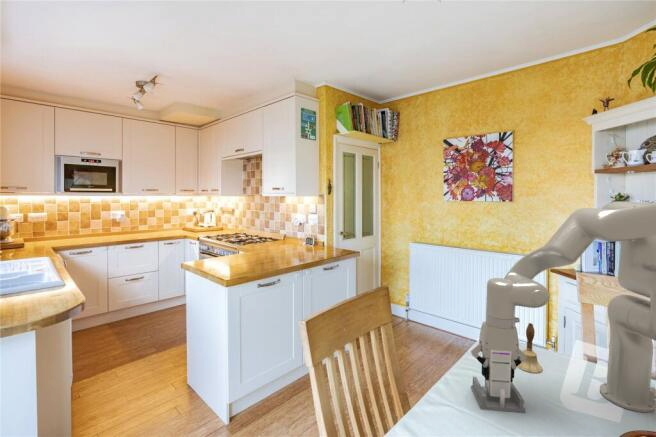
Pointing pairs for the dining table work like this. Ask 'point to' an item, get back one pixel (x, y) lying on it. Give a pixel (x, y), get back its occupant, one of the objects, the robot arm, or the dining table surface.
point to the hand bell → (530, 354)
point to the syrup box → (499, 373)
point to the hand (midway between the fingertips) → (497, 378)
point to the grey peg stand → (498, 399)
